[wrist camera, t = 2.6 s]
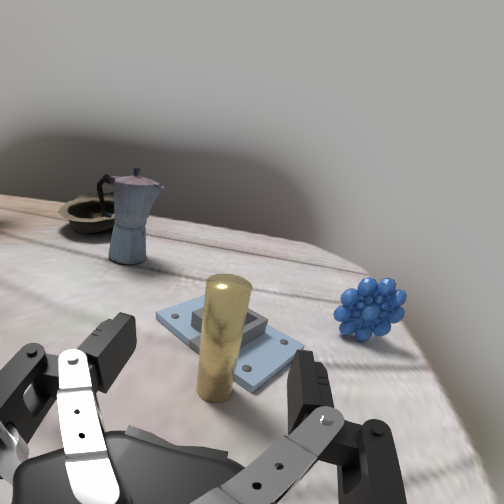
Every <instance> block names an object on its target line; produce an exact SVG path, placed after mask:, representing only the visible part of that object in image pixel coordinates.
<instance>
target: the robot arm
mask: <svg viewBox="0 0 504 504" xmlns="http://www.w3.org/2000/svg"><path fill="white" fill-rule="evenodd" d="M136 343H137V339H136V323H135V317H134V316H132V315H128V314H125V313H121V312H120V313H119V314H118V315H117V316H116V317H115V318H114V319H113V320H111V319H108V320H106V321H104V322H102V323H101V324H100V325H99V326H98V327H97V328H96V330H94V331H93V332H92V333H91V334H90V335H89V336H88V337H87V338H86V339H85V341H84V342H83V343H82V344H81V345H80V346H79V347H78V348H77V349H70V350H66V351H64V352H63V353H61V355H60V356H57V355H51V354H46V353H45V350H44V347H43V346H42V345H40V344H38V343H29V344H27V345H25V346H23V347H22V348H21V349H20V350H19V351H18V352H17V353H16V354H15V355H14V356H13V358H12V359H11V360H10V361H9V362H8V363H7V364H6V365H5V366H4V367H3V368H2V369H1V370H0V479H5V480H6V481H8V482H9V483H10V484H12V485H13V497H12V504H278V503H279V502H280V501H281V500H282V499H283V498H284V497H285V496H286V495H287V494H288V493H289V492H290V491H291V490H292V489H293V488H294V487H295V486H296V484H297V483H298V482H299V481H300V480H301V479H302V478H303V477H304V476H305V475H306V474H307V473H308V472H309V471H310V469H311V468H312V467H313V466H314V465H315V464H316V463H317V462H318V460H320V461H324V462H327V463H331V464H334V465H337V475H338V499H339V504H407V501H406V495H405V490H404V485H403V480H402V475H401V470H400V466H399V461H398V457H397V453H396V448H395V444H394V440H393V436H392V432H391V429H390V427H389V426H388V425H387V424H386V423H385V422H383V421H381V420H377V419H371V420H367V421H366V422H365V423H364V424H363V425H360V424H356V423H352V422H349V421H346V420H344V417H343V415H342V414H341V413H340V412H339V411H338V410H337V409H335V408H334V404H333V399H332V393H331V388H330V385H329V384H330V383H329V379H328V373H327V369H326V368H325V367H324V366H323V364H322V363H321V362H314V356H313V352H312V351H307V350H299V349H297V350H296V353H295V356H294V359H293V362H292V365H291V368H290V371H289V374H288V379H287V399H288V436H286V435H285V436H283V437H282V438H280V439H279V440H278V441H277V442H276V443H275V444H274V445H272V446H271V447H270V448H269V449H268V450H267V451H265V452H264V453H263V454H262V455H261V456H259V457H258V458H257V459H256V460H254V461H253V462H252V463H251V464H250V465H248V466H247V467H246V468H245V467H244V466H242V465H241V464H239V463H237V462H235V461H233V460H231V459H229V458H227V456H228V451H222V450H217V449H212V448H207V447H197V446H176V445H173V444H171V443H169V442H167V441H165V440H163V439H162V438H160V437H158V436H156V435H154V434H153V433H150V432H147V431H144V430H141V429H138V428H135V427H132V426H130V425H129V426H128V428H127V430H126V431H109V432H106V429H105V426H104V422H103V419H102V415H101V411H100V407H99V403H98V398H97V395H96V393H97V391H100V392H103V393H105V394H106V393H107V391H108V390H109V388H110V387H111V385H112V384H113V382H114V381H115V379H116V378H117V376H118V375H119V373H120V372H121V370H122V369H123V367H124V366H125V364H126V363H127V361H128V360H129V358H130V357H131V355H132V354H133V352H134V351H135V348H136ZM30 384H31V385H32V386H31V387H30V388H29V389H28V391H27V392H26V393H25V395H24V396H23V394H24V392H25V390H26V389H27V388H28V386H29V385H30ZM57 398H58V407H59V416H60V424H61V430H62V437H63V443H64V448H61V449H58V450H55V451H52V452H49V453H46V454H43V455H40V456H37V457H33V458H30V459H28V455H29V448H28V445H27V444H28V443H29V441H30V439H31V438H32V436H33V435H34V433H35V431H36V430H37V428H38V427H39V425H40V423H41V422H42V420H43V419H44V417H45V416H46V414H47V413H48V411H49V409H50V408H51V406H52V405H53V403H54V402H55V400H56V399H57Z"/></svg>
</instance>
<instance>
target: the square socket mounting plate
mask: <svg viewBox="0 0 504 504" xmlns="http://www.w3.org/2000/svg"><path fill="white" fill-rule="evenodd" d="M204 301H205V295H204V296H201V297H198V298H195V299H192V300H189V301H186V302H184V303H181V304H178V305H175V306H172V307H169V308H166V309H163V310H160V311H157V312H156V319H157V320H158V321H159V322H160V323H162V324H163V325H164V326H165V327H166V328H167V329H169V330H170V331H171V332H172V333H173V334H174V335H176V336H177V337H178V338H179V339H180V340H182V341H183V342H184V343H185V344H187V345H188V346H189V347H190V348H192V349H193V350H194V351H195V352H197V353H198V354H199V352H200V341H201V330H202V320H203V311H204ZM267 322H268V319H267V318H265V317H263V316H261V315H260V314H258V313H256V312H254V311H252V310H251V309H249V308H248V310H247V315H246V320H245V325H244V330H243V336H242V341H241V346H240V351H239V356H238V361H237V366H236V371H235V376H234V381H235V382H237V383H238V384H239V385H241V386H242V387H244V388H245V389H247V390H248V391H249V392H251V393H252V392H254V391H255V390H256V389H257V388H259V387H260V386H261V385H263V384H264V383H265V382H266V381H268V380H269V379H270V378H271V377H273V376H274V375H275V374H276V373H277V372H279V371H280V370H281V369H282V368H284V367H285V366H286V365H287V364H288V363H289V362H291V361H292V360H293V359H294V356H295V353H296V350H297V349H299V350H303V349H304V346H305V345H304V344H302V343H300V342H298V341H296V340H294V339H293V338H291V337H289V336H287V335H285V334H283V333H282V332H280V331H278V330H276V329H274V328H273V327H271V326H269V325H267Z"/></svg>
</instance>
